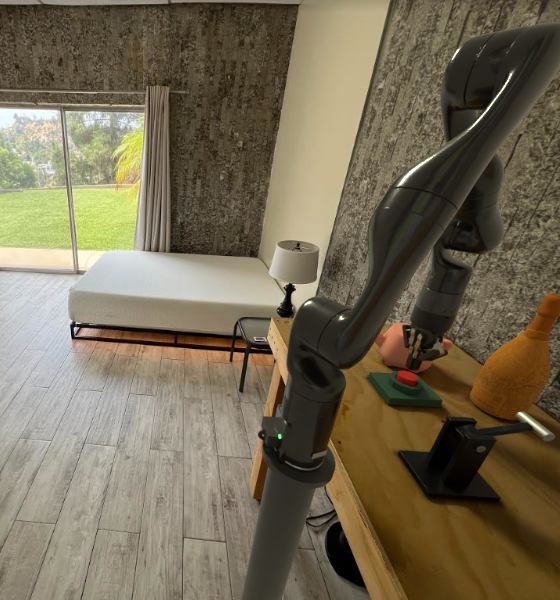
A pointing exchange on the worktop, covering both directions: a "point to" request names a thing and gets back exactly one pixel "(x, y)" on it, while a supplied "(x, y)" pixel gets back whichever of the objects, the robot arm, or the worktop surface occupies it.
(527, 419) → the lever
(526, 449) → the worktop surface
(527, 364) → the wine bottle
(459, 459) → the bracket
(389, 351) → the teapot
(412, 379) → the button
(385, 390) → the button block
